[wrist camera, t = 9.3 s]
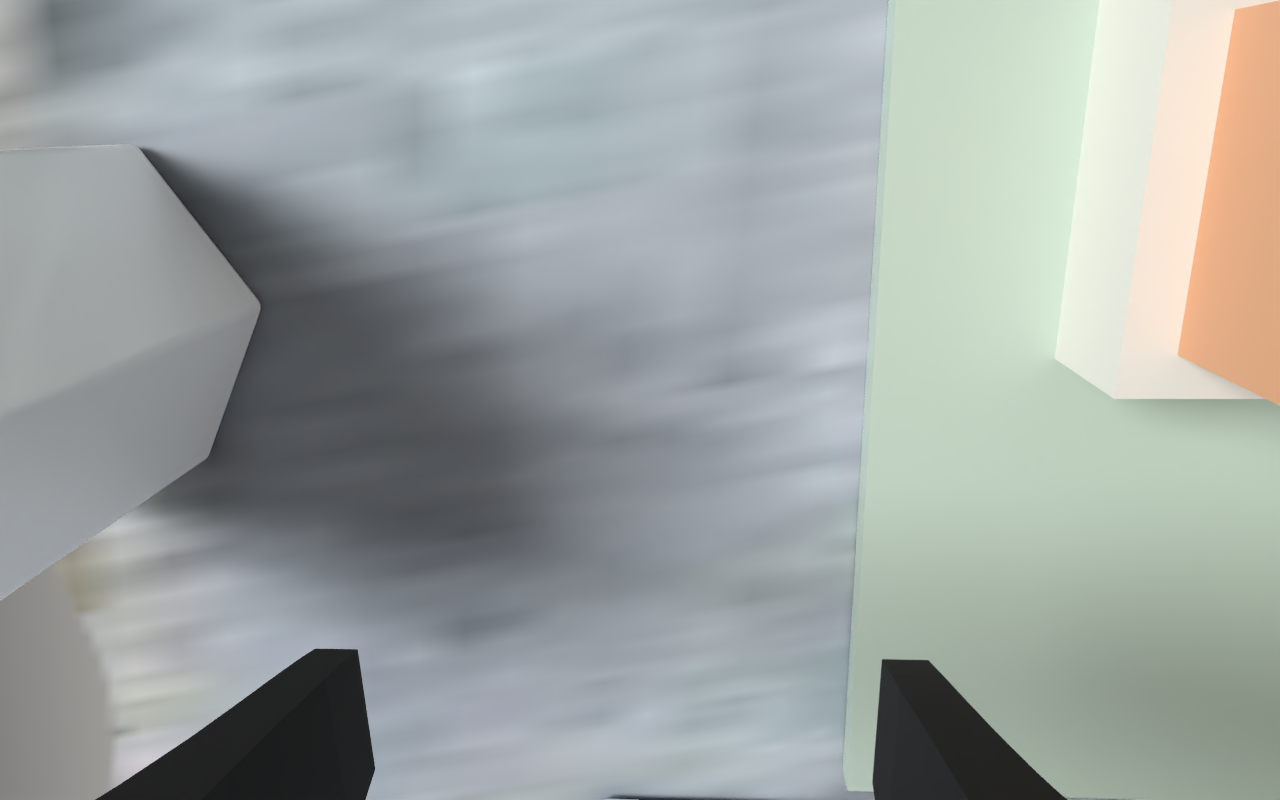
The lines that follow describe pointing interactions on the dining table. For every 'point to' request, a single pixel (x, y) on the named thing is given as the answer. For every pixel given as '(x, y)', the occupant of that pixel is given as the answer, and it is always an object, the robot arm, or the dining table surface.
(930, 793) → the robot arm
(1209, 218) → the top brick
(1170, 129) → the base brick
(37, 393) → the jar
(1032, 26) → the baseplate
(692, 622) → the dining table surface
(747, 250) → the dining table surface
